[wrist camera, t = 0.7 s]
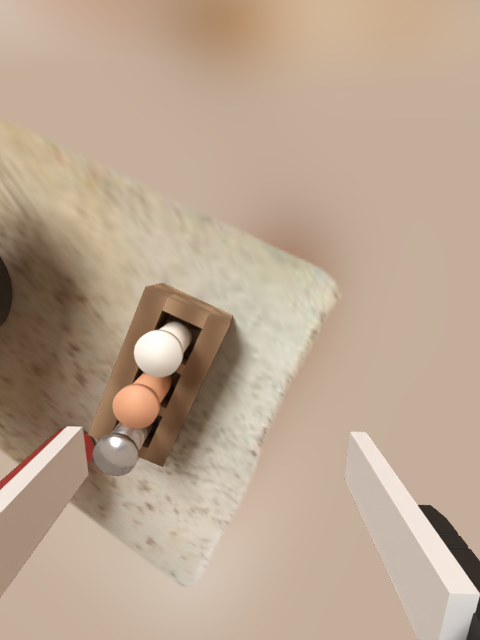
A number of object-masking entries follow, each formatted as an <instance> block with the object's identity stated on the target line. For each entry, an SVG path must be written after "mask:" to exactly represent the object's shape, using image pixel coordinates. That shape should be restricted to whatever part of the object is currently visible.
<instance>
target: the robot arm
mask: <svg viewBox="0 0 480 640" xmlns="http://www.w3.org/2000/svg"><path fill="white" fill-rule="evenodd" d="M10 304H11V285H10V280H9V276H8V273H7V271H6V268H5V266H4V264H3V262H2V261H1V259H0V325H1V324H2V323H3V321H4V320H5V318H6V316H7V314H8V312H9V309H10ZM88 475H89V474H88V466H87V458H86V450H85V442H84V434H83V427H74V426H67V427H66V428H65V429H64V430H63V431H62V432H61V433H60V434H59V435H58V436H57V437H55V438H54V439H53V440H52V441H51V442H50V443H49V444H48V445H47V446H46V447H45V448H44V449H43V450H42V451H41V452H40V453H39V454H38V455H37V456H36V457H35V458H33V459H32V460H31V461H30V462H29V463H28V464H27V465H26V466H25V467H24V468H23V469H22V470H21V471H20V472H19V473H18V474H17V475H16V476H15V477H14V478H13V479H11V480H10V481H9V482H8V483H7V484H6V485H5V486H4V487H3V488H2V489H1V490H0V598H1V596H2V595H3V593H4V592H5V591H6V589H7V587H8V586H9V585H10V584H11V582H12V581H13V579H14V578H15V577H16V575H17V574H18V572H19V571H20V569H21V568H22V567H23V565H24V564H25V563H26V561H27V560H28V558H29V557H30V556H31V554H32V553H33V551H34V550H35V549H36V547H37V546H38V544H39V543H40V542H41V540H42V539H43V537H44V536H45V535H46V533H47V532H48V530H49V529H50V528H51V526H52V525H53V523H54V522H55V521H56V519H57V518H58V516H59V515H60V514H61V512H62V511H63V509H64V508H65V507H66V505H67V504H68V502H69V501H70V500H71V498H72V497H73V495H74V494H75V493H76V491H77V490H78V489H79V487H80V486H81V484H82V483H83V482H84V480H85V479H86V477H87V476H88ZM345 482H346V484H347V486H348V488H349V490H350V492H351V495H352V497H353V499H354V501H355V504H356V506H357V508H358V510H359V512H360V514H361V517H362V519H363V521H364V523H365V525H366V528H367V530H368V532H369V534H370V536H371V538H372V541H373V543H374V545H375V547H376V549H377V552H378V554H379V556H380V558H381V560H382V562H383V565H384V566H385V569H386V571H387V573H388V575H389V578H390V580H391V582H392V584H393V586H394V589H395V591H396V593H397V595H398V597H399V599H400V602H401V604H402V606H403V608H404V610H405V613H406V615H407V617H408V619H409V621H410V623H411V626H412V628H413V630H414V632H415V634H416V636H417V639H418V640H480V561H479V560H478V558H477V557H476V556H475V554H474V553H473V552H472V550H471V549H469V548H468V545H467V544H466V543H465V542H464V540H463V539H462V538H461V536H459V535H458V533H457V531H456V530H455V529H454V527H453V526H452V525H451V524H450V522H449V521H448V520H447V519H446V518H445V517H444V516H443V515H442V514H441V513H439V512H438V511H437V510H436V509H435V508H433V507H432V506H431V505H417V504H416V503H415V501H414V500H413V498H412V497H411V495H410V494H409V493H408V491H407V490H406V488H405V487H404V485H403V484H402V483H401V481H400V480H399V478H398V477H397V476H396V474H395V473H394V471H393V470H392V469H391V467H390V466H389V464H388V463H387V461H386V460H385V459H384V457H383V456H382V454H381V453H380V452H379V450H378V449H377V447H376V446H375V444H374V443H373V442H372V440H371V439H370V437H369V436H368V435H367V433H366V432H350V437H349V445H348V455H347V462H346V471H345Z"/></svg>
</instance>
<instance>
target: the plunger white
mask: <svg viewBox="0 0 480 640" xmlns="http://www.w3.org/2000/svg"><path fill="white" fill-rule="evenodd" d="M191 341H192V332H191V329H190V328H189V326H188V325H187V324H185V323H184V322H181V321H171V322H169V323H167V324H166V325H164V326H163V327H162V328H160V329H159V330H153V331H150V332H148V333H146V334H145V335H143V336H142V337H141V338H140V339H139V340H138V341H137V343H136V345H135V349H134V357H135V361H136V363H137V365H138V366H139V368H140V369H141V370H142V371H143V372H145V373H146V374H148V375H150V376H153V377H165V376H168V375H171V374H172V373H174V372H175V371H176V370H177V368H178V367H179V365H180V364H181V362H182V360H183V353H184V352H185V350H186V349H187V347H188V346H189V345H190V343H191Z"/></svg>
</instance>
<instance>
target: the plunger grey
mask: <svg viewBox="0 0 480 640" xmlns="http://www.w3.org/2000/svg"><path fill="white" fill-rule="evenodd" d="M154 423H155V420H154V422H153V423H152V424H150V425H149V426H147V427H145V428H141V429H134V428H129V427H127V426H125V425H123V424H122V423H121V422H119V424H118V425H117V426H116V427H115V429H114V430H113V431H112V432H111V433H110V434H107V435H105V436H104V437H102V438H101V439H100V441H99V442H98V443H97V444H96V446H95V447H94V450H93V459H94V462H95V464H96V465H97V467H98V468H99V469H100V470H101V471H103V472H104V473H106V474H109V475H112V476H121V475H125V474H127V473H129V472H130V471H131V470H132V469H133V468H134V466H135V464H136V462H137V461H138V458H139V450H140V448H141V446H142V445H143V443H144V441H145V440H146V438H147V436H148V434H149V433H150V431H151V429H152V428H153V426H154Z"/></svg>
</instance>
